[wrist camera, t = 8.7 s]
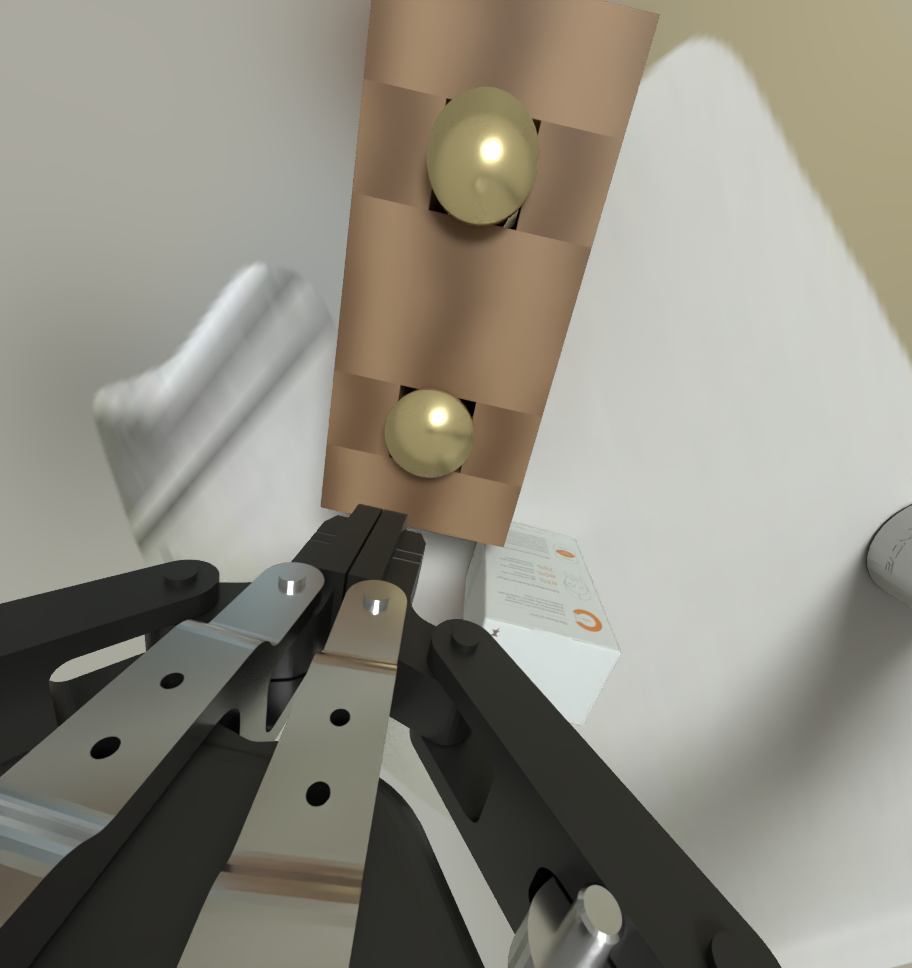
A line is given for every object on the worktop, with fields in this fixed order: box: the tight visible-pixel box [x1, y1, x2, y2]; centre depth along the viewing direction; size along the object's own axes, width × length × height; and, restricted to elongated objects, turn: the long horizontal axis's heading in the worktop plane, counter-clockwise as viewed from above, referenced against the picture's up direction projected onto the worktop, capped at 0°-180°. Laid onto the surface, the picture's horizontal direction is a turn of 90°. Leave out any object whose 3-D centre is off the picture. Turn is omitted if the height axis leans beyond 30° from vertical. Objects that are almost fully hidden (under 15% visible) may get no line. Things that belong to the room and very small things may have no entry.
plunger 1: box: [385, 388, 474, 478], centre depth 27 cm, size 5×5×8 cm
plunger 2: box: [427, 87, 539, 227], centre depth 23 cm, size 5×5×8 cm
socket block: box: [321, 0, 660, 548], centre depth 26 cm, size 12×26×8 cm, turn 168°
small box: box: [463, 522, 622, 726], centre depth 30 cm, size 8×6×13 cm
